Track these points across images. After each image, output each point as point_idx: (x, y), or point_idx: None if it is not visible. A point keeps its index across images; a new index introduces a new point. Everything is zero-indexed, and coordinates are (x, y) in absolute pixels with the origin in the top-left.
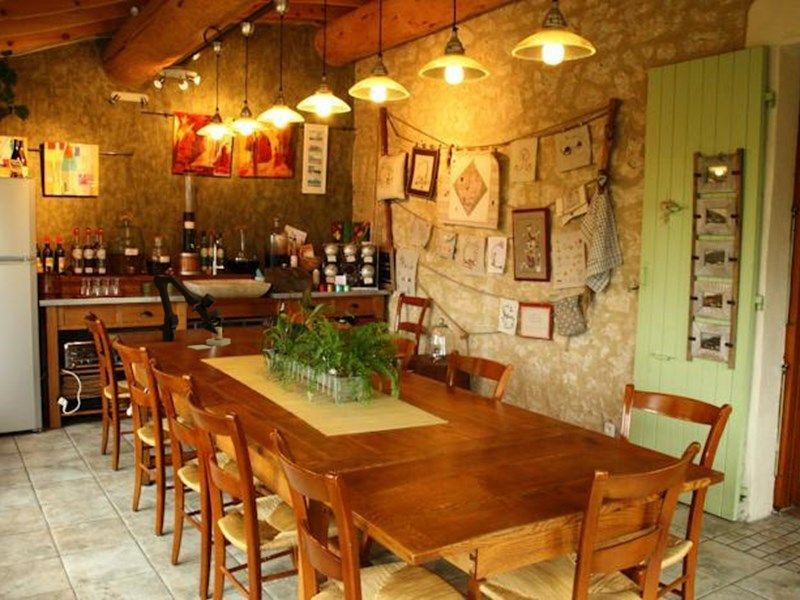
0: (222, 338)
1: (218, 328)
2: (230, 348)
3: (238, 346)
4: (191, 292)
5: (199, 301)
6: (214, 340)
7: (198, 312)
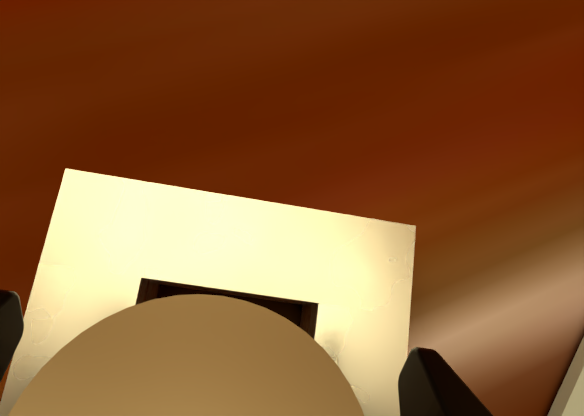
0: None
1: (351, 410)
2: (476, 78)
3: (281, 26)
4: None
5: None
6: None
7: None
